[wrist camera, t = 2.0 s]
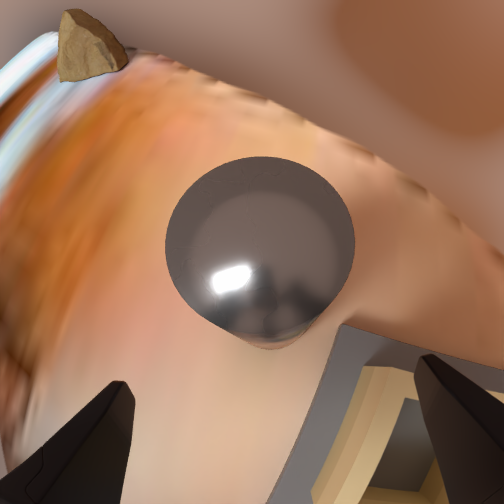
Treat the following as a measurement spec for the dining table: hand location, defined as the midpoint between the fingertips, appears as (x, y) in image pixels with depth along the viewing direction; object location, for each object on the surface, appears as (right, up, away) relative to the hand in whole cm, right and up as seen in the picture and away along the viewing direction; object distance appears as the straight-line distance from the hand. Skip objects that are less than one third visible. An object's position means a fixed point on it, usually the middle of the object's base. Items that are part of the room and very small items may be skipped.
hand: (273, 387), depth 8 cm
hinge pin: (+1, 0, +11) cm, 11 cm away
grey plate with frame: (+10, -12, +6) cm, 17 cm away
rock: (-21, +27, +23) cm, 42 cm away
